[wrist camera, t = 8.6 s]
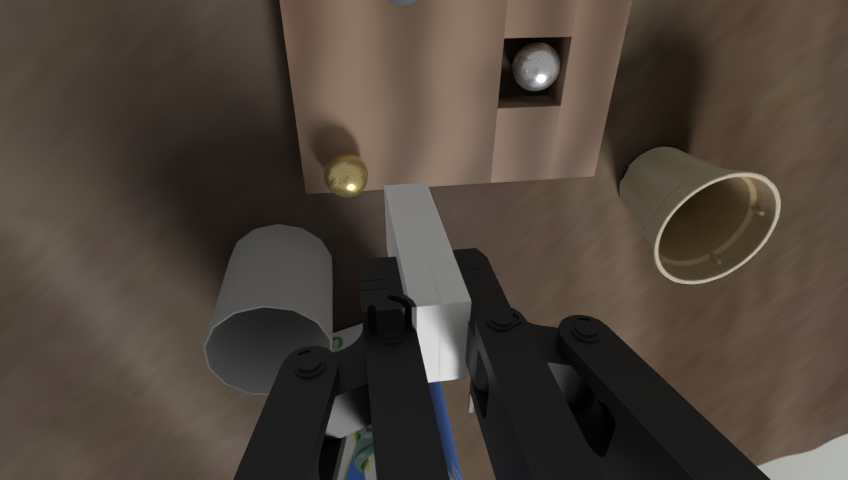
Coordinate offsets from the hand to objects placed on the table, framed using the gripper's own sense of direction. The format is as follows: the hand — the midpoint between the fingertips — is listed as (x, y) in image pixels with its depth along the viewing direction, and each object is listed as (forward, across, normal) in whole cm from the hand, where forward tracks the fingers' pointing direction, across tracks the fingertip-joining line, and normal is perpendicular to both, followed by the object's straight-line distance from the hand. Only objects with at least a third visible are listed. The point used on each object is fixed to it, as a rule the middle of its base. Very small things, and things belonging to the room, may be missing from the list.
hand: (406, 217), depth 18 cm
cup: (+20, -8, -16) cm, 26 cm away
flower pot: (+20, +24, -10) cm, 32 cm away
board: (+20, +6, 0) cm, 20 cm away
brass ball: (+16, -2, -6) cm, 17 cm away
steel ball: (+18, +11, +1) cm, 21 cm away
